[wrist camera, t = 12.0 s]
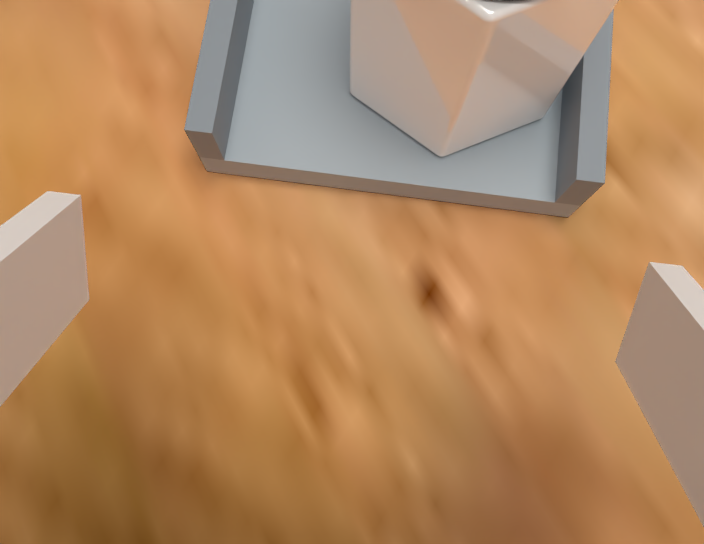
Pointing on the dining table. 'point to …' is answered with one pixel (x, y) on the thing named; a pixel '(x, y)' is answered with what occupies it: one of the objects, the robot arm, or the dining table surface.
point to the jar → (466, 62)
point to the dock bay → (376, 118)
